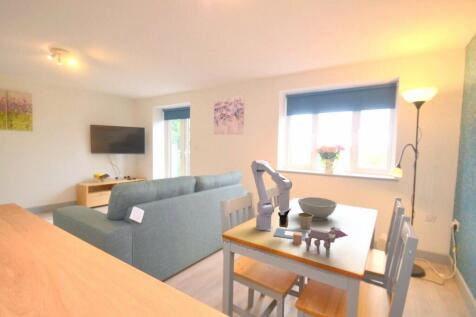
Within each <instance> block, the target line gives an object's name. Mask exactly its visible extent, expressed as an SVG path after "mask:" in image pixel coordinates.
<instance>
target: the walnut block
mask: <svg viewBox="0 0 476 317" xmlns="http://www.w3.org/2000/svg"><path fill="white" fill-rule="evenodd" d="M278 220H279V223H278V226H279V227H278V228H284V229H288V226H289V216H288V217H287V218H286V223H285V225H281V221H280V217H279V218H278Z"/></svg>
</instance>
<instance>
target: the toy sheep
mask: <svg viewBox="0 0 476 317" xmlns="http://www.w3.org/2000/svg"><path fill="white" fill-rule="evenodd" d="M348 236H349V235H348V234H347V233H345V232H344V231H342V230H341V227H340V228H339V227H336V226H331V227H330V230H329V231H328V230H323V229H318V228H313V227H310V229H309V233H308V234H307V236H306V238H305V241H304V243H305V248H306V249H305V250H306V252H310V247H311V246H312V239H314V241H313V244H314V246H316V248H315V249H316V254H317V255H320V247H321V241H323V247H324V248H325V256H326V257H327V258H329V257H330V250H331V243H332V244H334V243H335V240H336V239H340V238H343V237H348Z"/></svg>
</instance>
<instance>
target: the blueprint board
mask: <svg viewBox="0 0 476 317" xmlns="http://www.w3.org/2000/svg"><path fill="white" fill-rule="evenodd" d="M294 232H301V233H302V241H304V242H305V238H306V237H307V231H304V230H299V229H297V230H296V229H289V228H283V227H277V228H276V230H275V231H274V234H273V237H275V238H276V237H277V238H284V239H290V240H293V233H294Z"/></svg>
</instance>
